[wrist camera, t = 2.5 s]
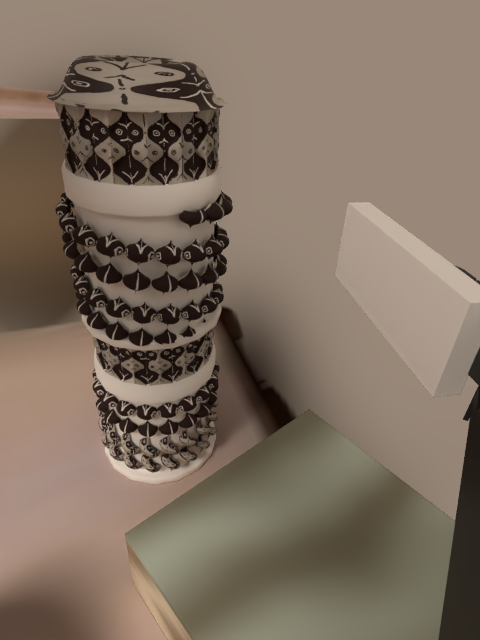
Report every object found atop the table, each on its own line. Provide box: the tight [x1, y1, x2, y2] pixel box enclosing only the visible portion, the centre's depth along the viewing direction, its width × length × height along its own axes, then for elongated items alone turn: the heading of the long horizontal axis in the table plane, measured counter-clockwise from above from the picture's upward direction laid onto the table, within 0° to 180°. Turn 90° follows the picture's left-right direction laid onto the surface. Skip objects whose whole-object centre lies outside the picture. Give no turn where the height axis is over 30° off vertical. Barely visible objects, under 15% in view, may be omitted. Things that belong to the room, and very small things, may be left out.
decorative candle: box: [46, 55, 233, 485], centre depth 26 cm, size 9×9×25 cm
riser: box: [125, 409, 455, 640], centre depth 23 cm, size 13×14×5 cm
